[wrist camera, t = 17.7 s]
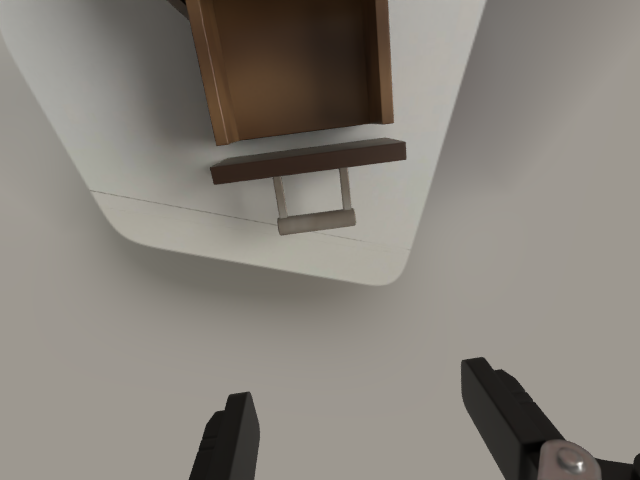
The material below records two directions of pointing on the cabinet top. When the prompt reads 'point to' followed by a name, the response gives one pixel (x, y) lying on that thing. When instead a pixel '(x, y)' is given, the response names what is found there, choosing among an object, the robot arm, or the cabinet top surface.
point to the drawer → (296, 88)
